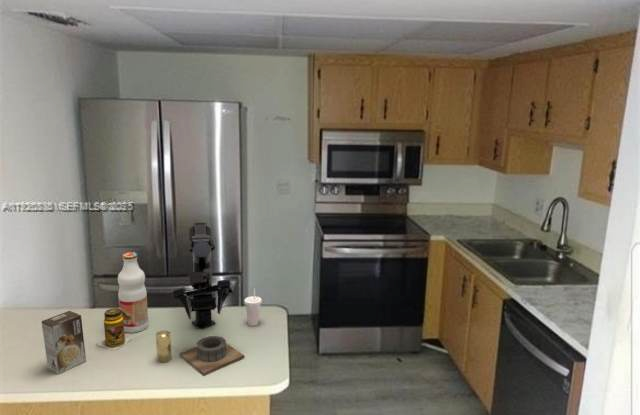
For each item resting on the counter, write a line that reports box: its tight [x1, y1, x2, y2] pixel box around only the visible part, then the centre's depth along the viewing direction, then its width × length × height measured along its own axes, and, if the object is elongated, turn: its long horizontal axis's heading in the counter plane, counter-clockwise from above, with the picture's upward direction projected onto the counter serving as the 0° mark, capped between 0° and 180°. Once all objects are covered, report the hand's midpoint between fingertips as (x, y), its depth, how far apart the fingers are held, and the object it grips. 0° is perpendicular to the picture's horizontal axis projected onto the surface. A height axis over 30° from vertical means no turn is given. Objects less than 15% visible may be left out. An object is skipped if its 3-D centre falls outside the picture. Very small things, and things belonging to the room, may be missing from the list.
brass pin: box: [155, 329, 173, 364], centre depth 153 cm, size 4×4×9 cm
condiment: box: [96, 307, 132, 351], centre depth 161 cm, size 7×8×12 cm
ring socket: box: [179, 335, 245, 376], centre depth 155 cm, size 15×15×5 cm
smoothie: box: [244, 288, 263, 327], centre depth 177 cm, size 6×6×14 cm
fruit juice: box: [117, 251, 149, 334], centre depth 171 cm, size 9×9×28 cm
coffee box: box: [41, 310, 87, 375], centre depth 147 cm, size 9×6×16 cm
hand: (204, 316), depth 150 cm, fingers open, 9 cm apart
